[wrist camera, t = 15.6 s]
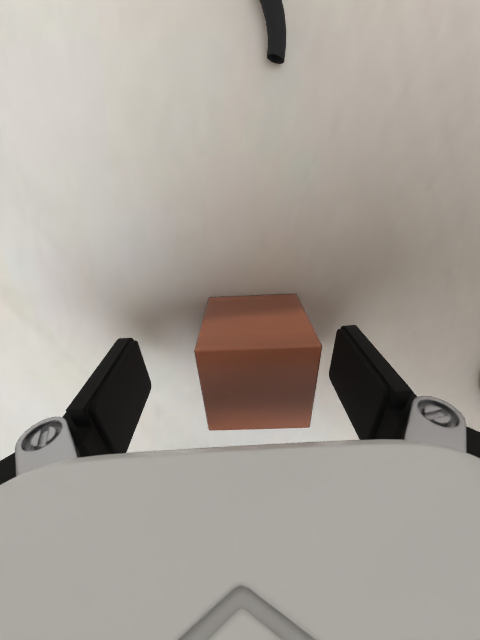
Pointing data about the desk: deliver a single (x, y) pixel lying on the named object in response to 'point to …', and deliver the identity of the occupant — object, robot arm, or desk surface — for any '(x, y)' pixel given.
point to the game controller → (275, 29)
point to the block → (257, 362)
